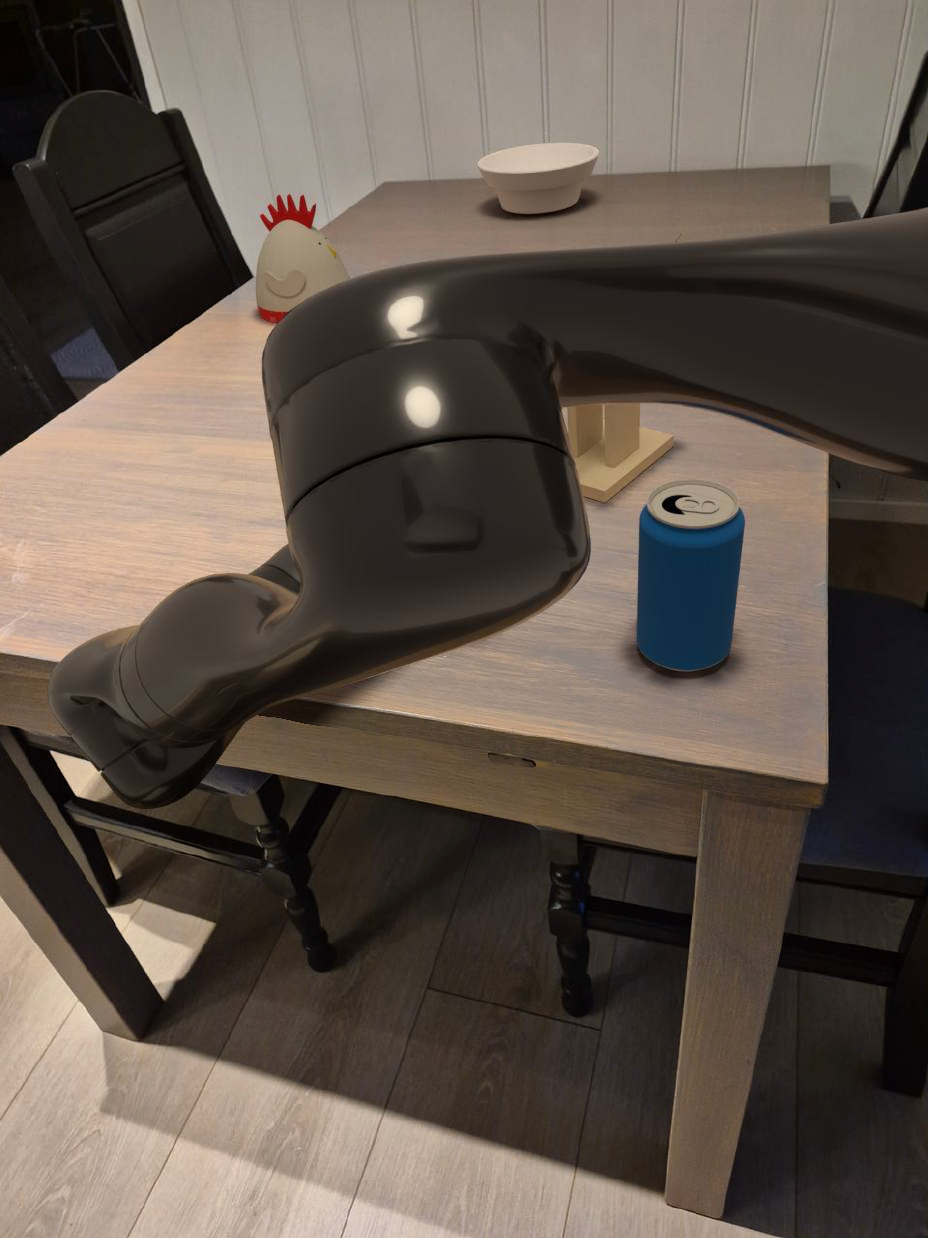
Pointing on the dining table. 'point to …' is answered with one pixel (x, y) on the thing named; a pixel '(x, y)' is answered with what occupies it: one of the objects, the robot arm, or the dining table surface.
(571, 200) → the bowl
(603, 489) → the lever bracket
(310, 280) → the kitchen timer
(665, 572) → the beverage can
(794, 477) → the dining table surface
